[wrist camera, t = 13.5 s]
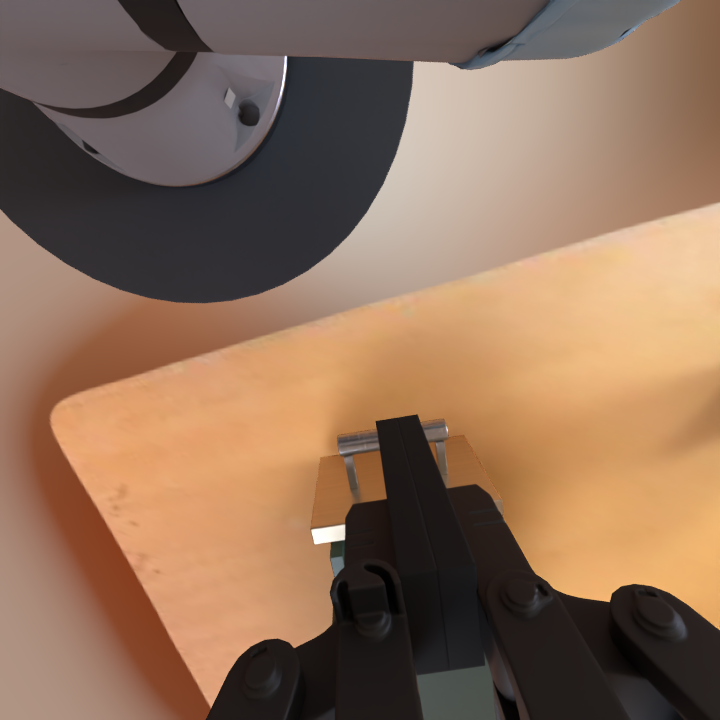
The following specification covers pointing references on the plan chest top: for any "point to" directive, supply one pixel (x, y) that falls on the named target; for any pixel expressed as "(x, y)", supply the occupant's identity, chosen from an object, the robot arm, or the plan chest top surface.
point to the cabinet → (457, 694)
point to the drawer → (382, 479)
